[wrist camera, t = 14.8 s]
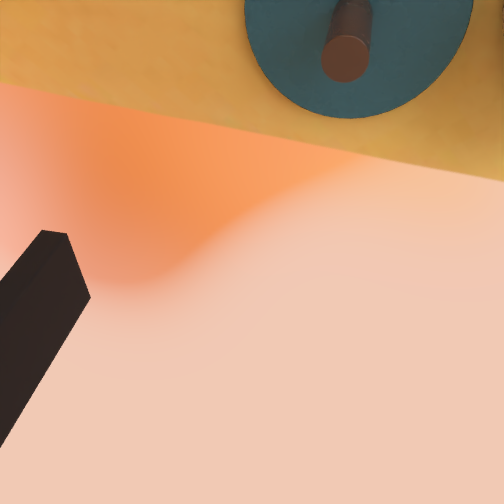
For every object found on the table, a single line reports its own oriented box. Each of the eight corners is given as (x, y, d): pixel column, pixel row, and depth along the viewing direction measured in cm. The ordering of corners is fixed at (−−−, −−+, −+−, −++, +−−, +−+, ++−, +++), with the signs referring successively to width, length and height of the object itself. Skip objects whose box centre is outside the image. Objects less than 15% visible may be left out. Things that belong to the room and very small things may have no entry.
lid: (249, 102, 38) (221, 160, 32) (246, -130, 28) (205, -112, 21) (437, 120, 35) (446, 186, 29) (508, -127, 25) (546, -106, 19)
